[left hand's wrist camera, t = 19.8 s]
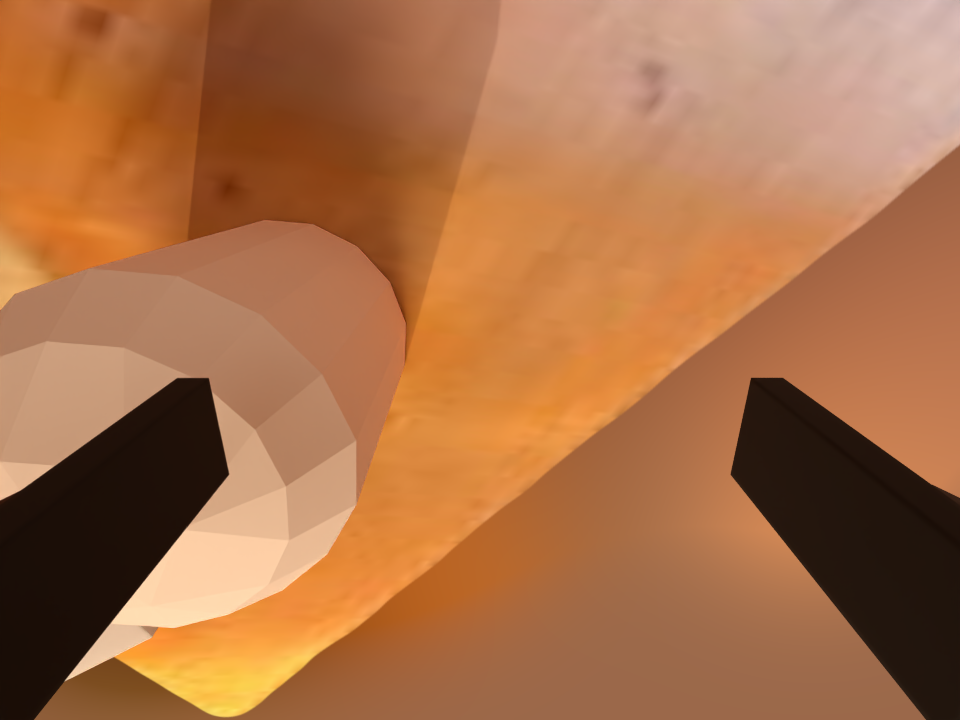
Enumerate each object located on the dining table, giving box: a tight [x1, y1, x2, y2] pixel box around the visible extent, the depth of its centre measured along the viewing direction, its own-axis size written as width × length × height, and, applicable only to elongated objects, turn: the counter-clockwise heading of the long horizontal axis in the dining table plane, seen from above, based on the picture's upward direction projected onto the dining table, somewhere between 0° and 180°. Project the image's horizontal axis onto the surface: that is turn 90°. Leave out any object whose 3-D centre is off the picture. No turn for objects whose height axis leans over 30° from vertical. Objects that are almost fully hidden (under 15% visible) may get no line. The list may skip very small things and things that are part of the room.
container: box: [0, 220, 406, 628], centre depth 34 cm, size 21×21×28 cm
